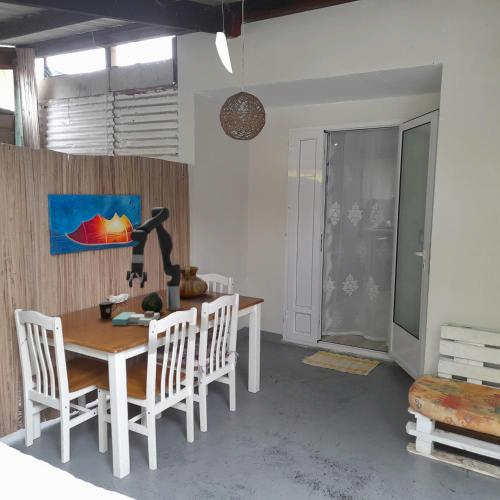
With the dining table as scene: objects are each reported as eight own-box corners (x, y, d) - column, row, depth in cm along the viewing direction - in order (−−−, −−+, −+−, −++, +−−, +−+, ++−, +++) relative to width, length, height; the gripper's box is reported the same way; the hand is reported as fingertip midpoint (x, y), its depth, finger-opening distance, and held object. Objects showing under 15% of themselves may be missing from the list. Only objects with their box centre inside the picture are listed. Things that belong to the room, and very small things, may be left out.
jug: (166, 294, 378) (165, 264, 375) (199, 290, 392) (199, 262, 389) (178, 301, 352) (177, 269, 349) (213, 297, 366) (213, 267, 363)
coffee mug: (99, 319, 298) (98, 304, 297) (99, 316, 306) (99, 301, 305) (117, 318, 301) (117, 303, 300) (117, 315, 309) (117, 300, 308)
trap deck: (123, 317, 303) (123, 311, 303) (159, 318, 301) (159, 312, 300) (112, 324, 286) (112, 318, 285) (151, 326, 283) (150, 319, 283)
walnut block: (146, 314, 295) (146, 311, 294) (154, 315, 294) (154, 311, 294) (144, 316, 290) (144, 313, 289) (151, 317, 289) (151, 313, 289)
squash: (135, 307, 309) (149, 291, 308) (140, 303, 324) (154, 287, 323) (150, 321, 309) (164, 305, 308) (155, 316, 324) (169, 301, 323)
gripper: (150, 262, 284) (149, 288, 283) (132, 261, 289) (130, 287, 289) (143, 262, 277) (141, 288, 276) (124, 261, 283) (123, 287, 282)
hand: (136, 287), depth 283 cm, fingers open, 8 cm apart
